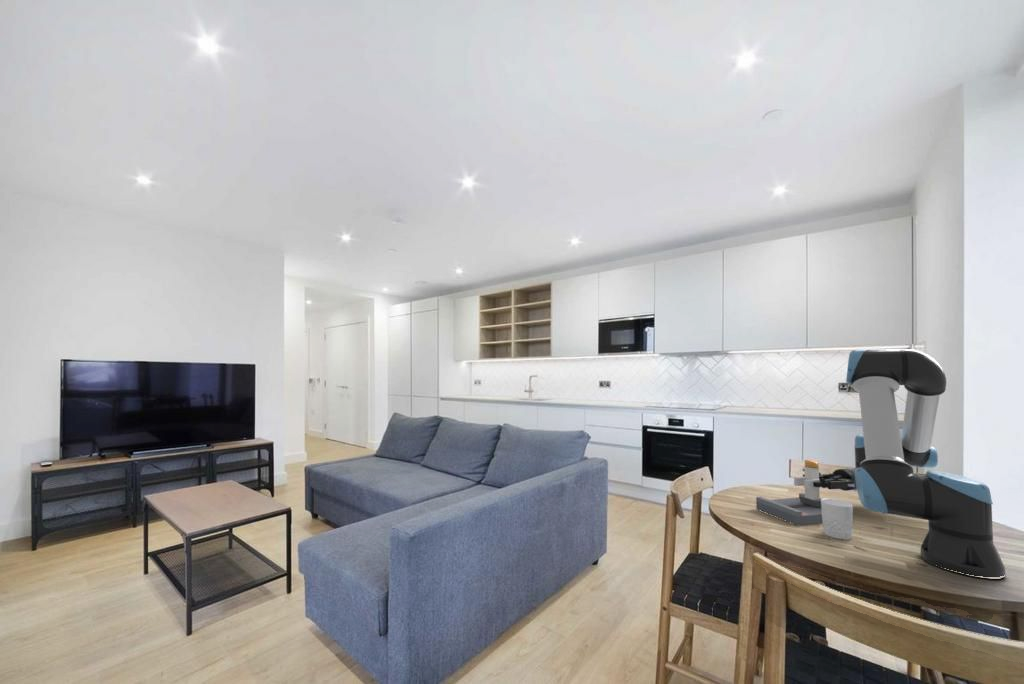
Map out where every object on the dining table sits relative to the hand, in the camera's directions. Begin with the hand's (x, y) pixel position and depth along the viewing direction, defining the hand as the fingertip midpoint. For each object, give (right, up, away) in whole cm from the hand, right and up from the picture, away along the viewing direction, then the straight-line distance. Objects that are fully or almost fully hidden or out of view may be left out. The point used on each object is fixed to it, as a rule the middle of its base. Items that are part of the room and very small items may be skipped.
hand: (800, 482), depth 147 cm
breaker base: (0, -11, -1) cm, 11 cm away
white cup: (-1, -10, -19) cm, 21 cm away
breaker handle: (+5, -8, +1) cm, 9 cm away
